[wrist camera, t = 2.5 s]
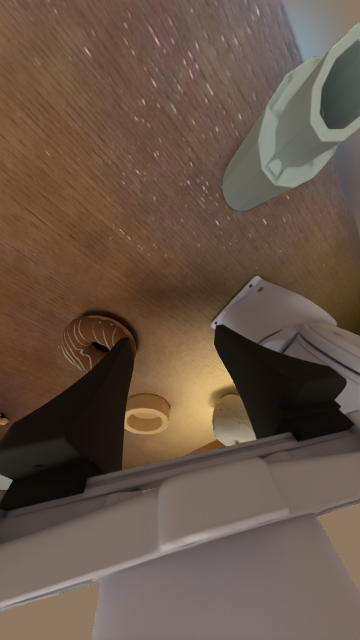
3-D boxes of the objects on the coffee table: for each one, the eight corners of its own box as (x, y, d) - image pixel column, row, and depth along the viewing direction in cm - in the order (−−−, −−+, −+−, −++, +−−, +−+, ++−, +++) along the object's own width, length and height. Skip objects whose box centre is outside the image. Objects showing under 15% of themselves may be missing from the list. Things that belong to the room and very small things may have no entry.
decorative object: (255, 394, 31) (287, 453, 22) (228, 413, 34) (246, 472, 26) (225, 379, 29) (247, 439, 20) (199, 402, 32) (208, 462, 23)
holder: (138, 387, 29) (134, 402, 27) (177, 404, 32) (177, 418, 29) (117, 411, 33) (112, 426, 30) (154, 424, 36) (153, 438, 33)
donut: (147, 326, 22) (142, 341, 19) (129, 370, 27) (122, 389, 23) (75, 299, 20) (54, 311, 17) (68, 352, 24) (50, 370, 21)
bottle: (247, 134, 13) (394, -95, 4) (278, 175, 15) (439, 67, 6) (212, 189, 15) (266, 106, 6) (243, 221, 16) (324, 193, 7)
